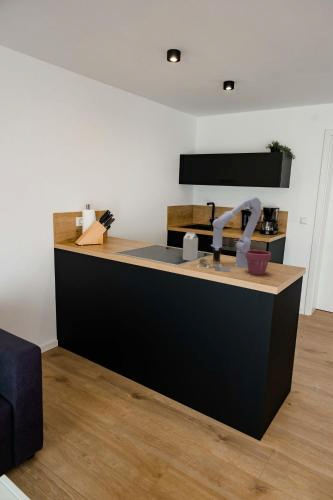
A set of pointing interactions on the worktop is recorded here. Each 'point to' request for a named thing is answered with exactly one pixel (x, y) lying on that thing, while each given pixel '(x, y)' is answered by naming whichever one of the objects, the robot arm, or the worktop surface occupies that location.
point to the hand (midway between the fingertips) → (216, 259)
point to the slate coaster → (222, 269)
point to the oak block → (203, 262)
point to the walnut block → (215, 260)
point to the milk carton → (190, 246)
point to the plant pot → (257, 261)
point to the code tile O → (204, 267)
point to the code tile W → (216, 265)
